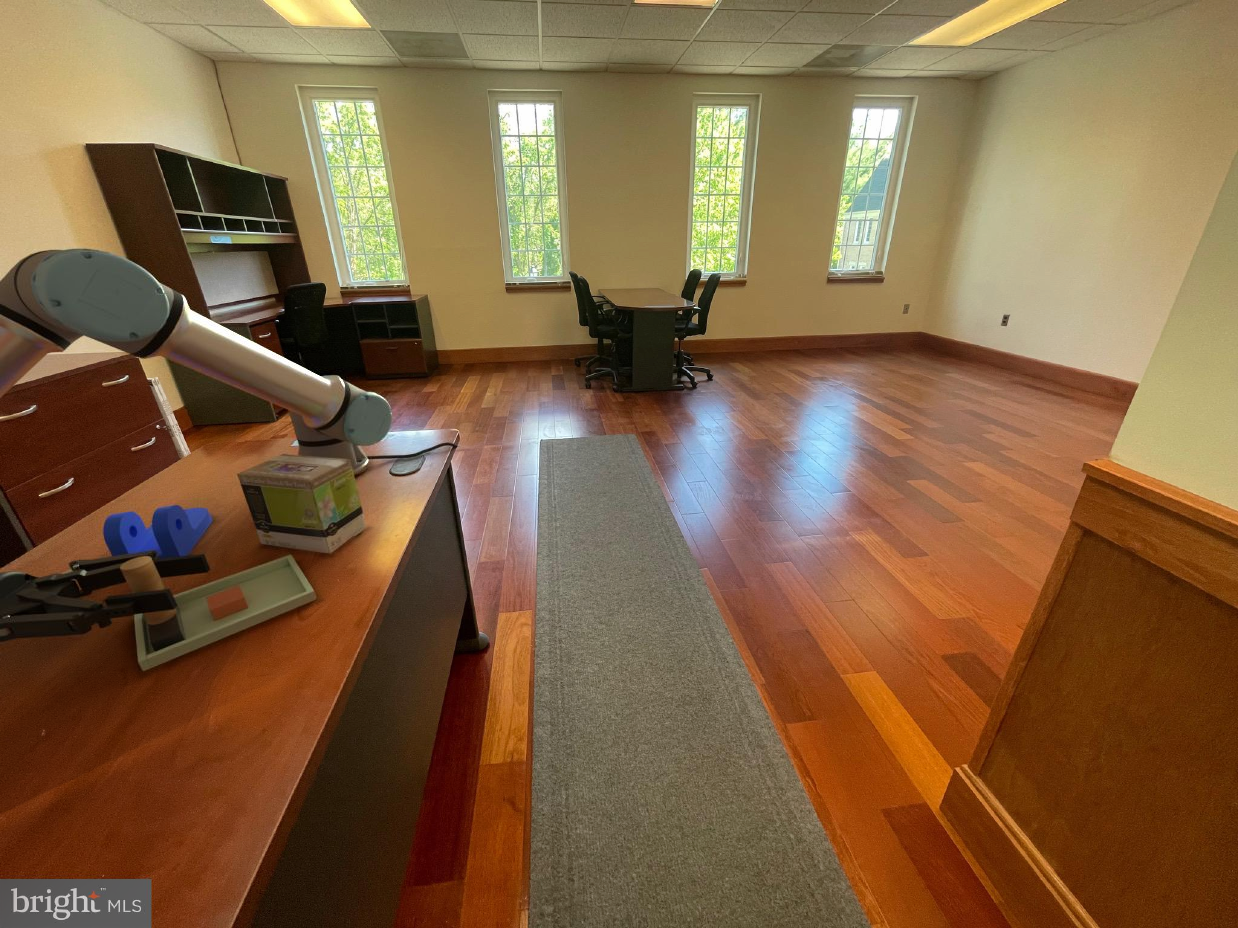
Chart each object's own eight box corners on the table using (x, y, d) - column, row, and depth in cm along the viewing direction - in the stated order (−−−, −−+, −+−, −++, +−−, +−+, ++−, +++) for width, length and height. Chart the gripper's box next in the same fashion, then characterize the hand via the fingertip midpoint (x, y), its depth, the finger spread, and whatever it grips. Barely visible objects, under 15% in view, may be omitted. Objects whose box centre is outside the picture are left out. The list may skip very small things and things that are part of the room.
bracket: (182, 561, 82) (162, 516, 78) (120, 572, 79) (97, 526, 76) (218, 513, 97) (202, 473, 94) (167, 521, 94) (149, 480, 91)
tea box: (368, 527, 93) (352, 458, 87) (330, 556, 84) (308, 481, 78) (303, 519, 95) (282, 451, 90) (259, 546, 86) (233, 472, 81)
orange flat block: (243, 595, 73) (239, 584, 72) (248, 607, 71) (244, 597, 70) (210, 607, 71) (205, 596, 70) (214, 621, 68) (209, 610, 67)
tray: (294, 564, 82) (290, 554, 81) (317, 601, 73) (314, 590, 72) (139, 620, 69) (133, 609, 68) (144, 674, 60) (137, 662, 59)
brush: (179, 608, 70) (148, 542, 66) (187, 644, 64) (154, 574, 59) (152, 618, 68) (118, 551, 64) (157, 656, 62) (120, 585, 57)
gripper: (58, 580, 70) (235, 560, 74) (-95, 692, 52) (151, 657, 57) (32, 536, 67) (219, 519, 71) (-139, 640, 49) (126, 607, 54)
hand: (189, 580), depth 64 cm, fingers open, 7 cm apart
